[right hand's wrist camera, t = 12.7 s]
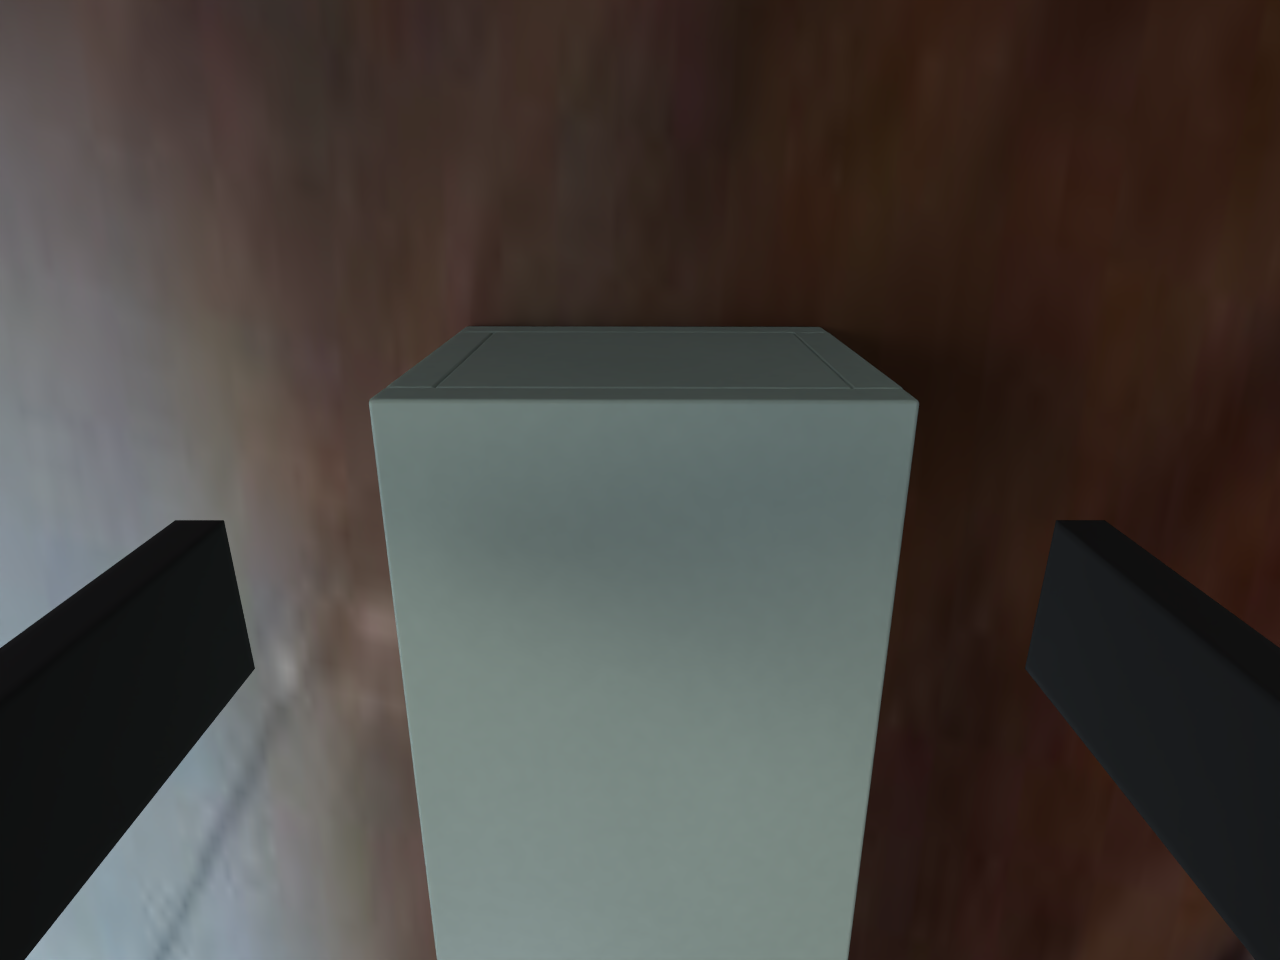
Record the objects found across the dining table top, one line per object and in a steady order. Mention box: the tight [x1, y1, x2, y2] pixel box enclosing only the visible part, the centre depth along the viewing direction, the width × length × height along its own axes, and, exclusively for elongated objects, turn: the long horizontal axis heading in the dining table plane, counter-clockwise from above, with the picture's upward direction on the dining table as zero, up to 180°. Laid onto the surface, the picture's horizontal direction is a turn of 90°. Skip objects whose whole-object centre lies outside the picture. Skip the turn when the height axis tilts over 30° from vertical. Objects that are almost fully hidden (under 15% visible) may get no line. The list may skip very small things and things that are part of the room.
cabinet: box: [369, 326, 919, 960], centre depth 22 cm, size 21×10×8 cm, turn 0°
